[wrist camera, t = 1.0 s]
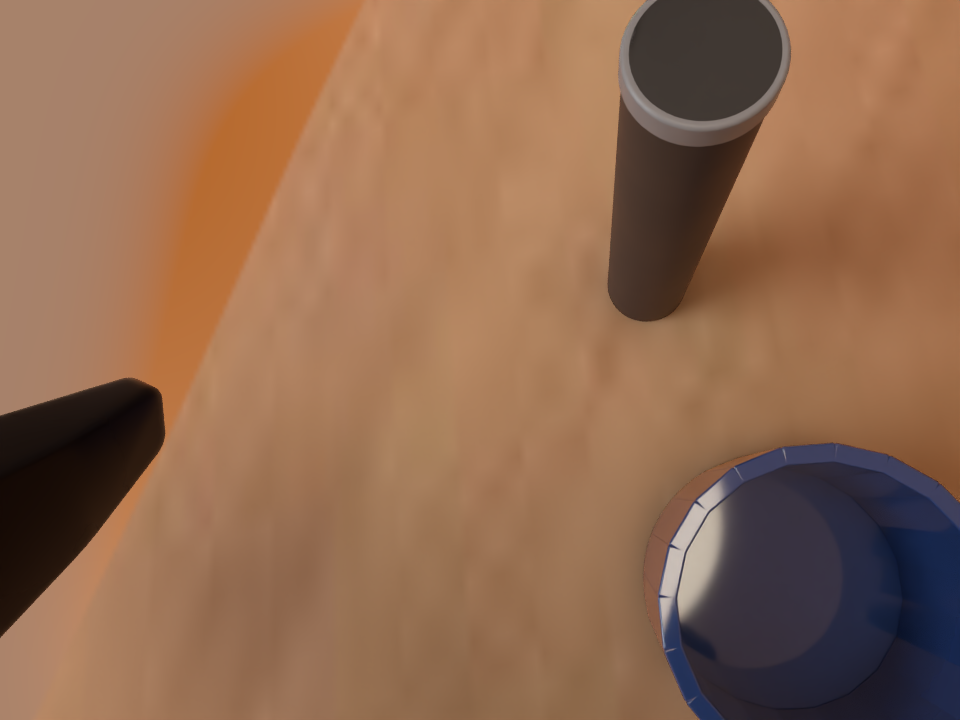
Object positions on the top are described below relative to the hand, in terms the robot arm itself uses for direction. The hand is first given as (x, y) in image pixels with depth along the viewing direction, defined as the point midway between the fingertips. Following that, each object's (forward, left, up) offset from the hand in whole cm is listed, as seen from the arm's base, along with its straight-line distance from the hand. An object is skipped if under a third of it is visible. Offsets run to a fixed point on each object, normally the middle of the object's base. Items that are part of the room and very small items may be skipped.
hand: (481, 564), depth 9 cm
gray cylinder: (+7, +1, -13) cm, 15 cm away
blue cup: (+2, -6, -13) cm, 15 cm away
